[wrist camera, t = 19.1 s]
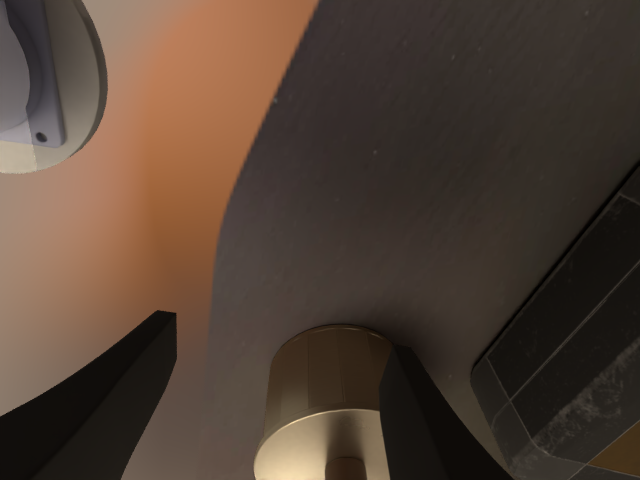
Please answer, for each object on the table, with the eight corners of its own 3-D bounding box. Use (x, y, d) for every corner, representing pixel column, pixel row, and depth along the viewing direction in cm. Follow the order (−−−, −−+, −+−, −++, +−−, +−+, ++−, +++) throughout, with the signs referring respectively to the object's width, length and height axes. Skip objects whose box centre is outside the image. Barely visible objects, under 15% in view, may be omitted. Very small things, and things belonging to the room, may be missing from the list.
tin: (263, 412, 30) (254, 501, 25) (277, 317, 26) (270, 399, 20) (384, 421, 32) (402, 508, 26) (419, 331, 27) (449, 413, 21)
